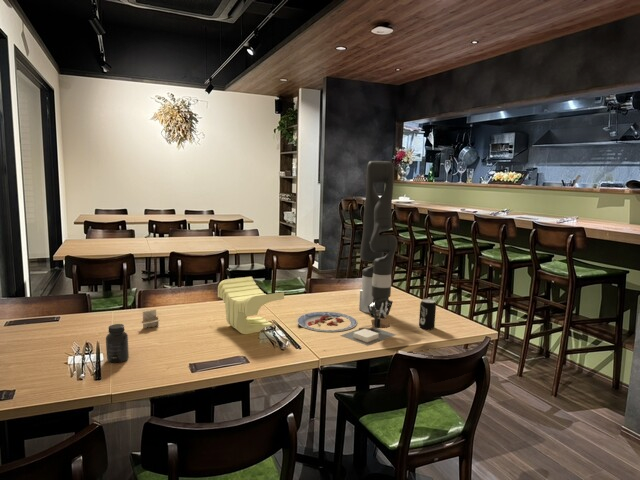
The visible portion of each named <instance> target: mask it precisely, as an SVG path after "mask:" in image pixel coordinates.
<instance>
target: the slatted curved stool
mask: <svg viewBox="0 0 640 480" xmlns="http://www.w3.org/2000/svg"><path fill="white" fill-rule="evenodd" d="M217 298H220V299H222V300H223V303H224V304H225V305H224V308H225V314H226V316H225V317H226V322H227V324H228V325H230V326H231V327H232V328H234V329H235V330H237V332H239V334H240V333H241V334H242V335H247V334H255V333H259V332H261V331H260V330H261V329H263V328H265V327H269V326H273V325H274V324H273V323H272V322H269V321H268V320H267V319H266V318H264V317H263V316H257V315H258V313H259V310H260V309H261V307H262V306H264V305H266V304H268V303H271V302H274V301H275V302H277V301H281V300H285V291H283V292H281V291H280V292H276V293H267V294H266V293H264V291H263V290H262V289H260V287H259V285H257V283H256V282H255V280H254V278H253V276H245V277H235V278H227V279H224V280H221V281H220V282H219V284H218V286H217ZM253 316H254V317H253ZM255 316H257V317H255ZM273 327H274V326H273Z"/></svg>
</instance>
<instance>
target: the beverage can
mask: <svg viewBox="0 0 640 480" xmlns="http://www.w3.org/2000/svg"><path fill="white" fill-rule="evenodd" d="M436 311H437V304H436V300H435V299H432V298H422V299H421V301H420V304H419V318H418V320H419V321H418V326H419V327H420V328H421V329H422V330H426V331H427V330H433V329H434V328H435V324H436Z"/></svg>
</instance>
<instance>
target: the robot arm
mask: <svg viewBox="0 0 640 480" xmlns="http://www.w3.org/2000/svg"><path fill="white" fill-rule="evenodd" d="M394 176H395V168H394V163H393V162H392V161H388V160H369V162H368V163H367V167H366V178H365V179H366V180H365V184H366V185H365V188H366V189H365V202H364V210H363V225H362V226H363V227H362V229H363V230H362V235H361V236H362V238H361V244H360V250H359V256H360V260H361V261H362V262H371V263H372V262H373V265H370V266H368V267H365V268H363V269H362V274H361V275H362V276H361V278H362V279H361V280H362V281H361V289H360V290H359V307H358V308H359V310H360V311H361V312H363V313H366V314H370V317H371V318H373V319H375V321H374V326H375V327H376V328H378V329H381V328H380V318H387V316H388V315H389V314H390V311H391V308H392V306H393V300H390V299H389V298H390V297H391V295H392V294H391V292H392V264H393V258H394V256H395V253H396V249H397V247H398V239H397V237H396V236H395V235H393V234H380V233H382V232H383V233H384V232H387V231H389V230H391V229H392V226H393V218H392V202H393V195H394V194H393V193H394V179H395V177H394ZM375 184H385V187H384V191H383V192H382V195H381V196H379V195H378V193H377V190H376V188H375ZM384 254H385V256H384Z"/></svg>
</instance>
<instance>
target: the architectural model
mask: <svg viewBox="0 0 640 480" xmlns="http://www.w3.org/2000/svg"><path fill="white" fill-rule="evenodd" d="M159 323H160V319H159V317H158V316H157V309H156V308H155V309H151V310H143V311H142V320H140V324H142V329H147V327H148V328H151V327H152V328H153V327H154V328H155V327H158V326H160V325H159ZM156 325H157V326H156Z"/></svg>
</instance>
